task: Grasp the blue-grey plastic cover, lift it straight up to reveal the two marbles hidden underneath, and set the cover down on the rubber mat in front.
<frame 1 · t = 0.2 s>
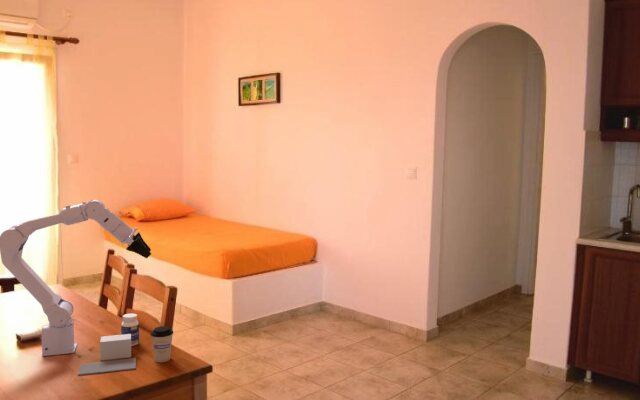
hand: (149, 254, 181), 31 cm above the table, tool tilted 45°, fingers open, 7 cm apart
mat: (108, 367, 163), on the table
cream marble: (122, 355, 172), on the table
pill bottle: (130, 344, 183), on the table
terracotta marble: (110, 356, 171), on the table
coffee cup: (162, 359, 170), on the table
cover: (116, 355, 172), on the table
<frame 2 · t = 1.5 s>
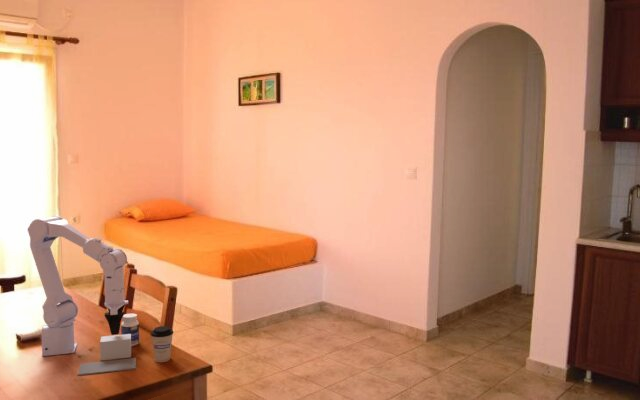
hand: (115, 330, 171), 9 cm above the table, tool pointing down, fingers open, 7 cm apart
nothing on the table moved.
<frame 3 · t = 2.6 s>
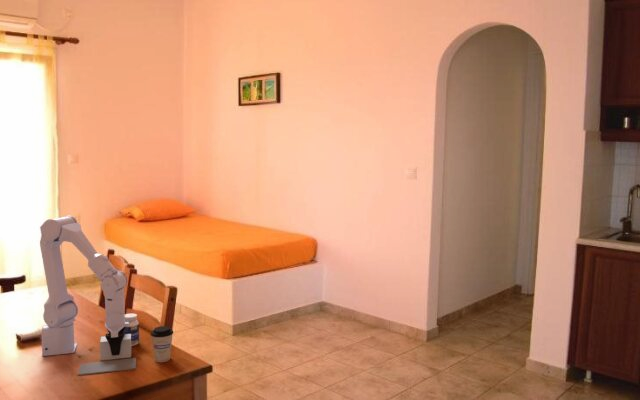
hand: (116, 351, 172), 1 cm above the table, tool pointing down, fingers closed on cover, 5 cm apart
cover: (116, 355, 172), on the table, touching gripper
everything else where it was.
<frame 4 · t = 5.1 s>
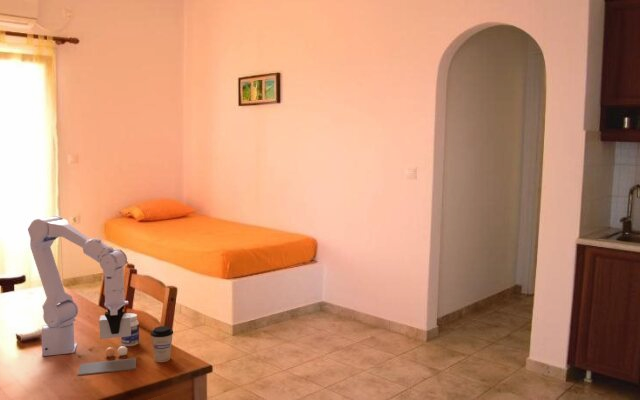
hand: (115, 330, 171), 8 cm above the table, tool pointing down, fingers closed on cover, 5 cm apart
cover: (115, 334, 171), point 7 cm above the table, touching gripper
everything else where it was.
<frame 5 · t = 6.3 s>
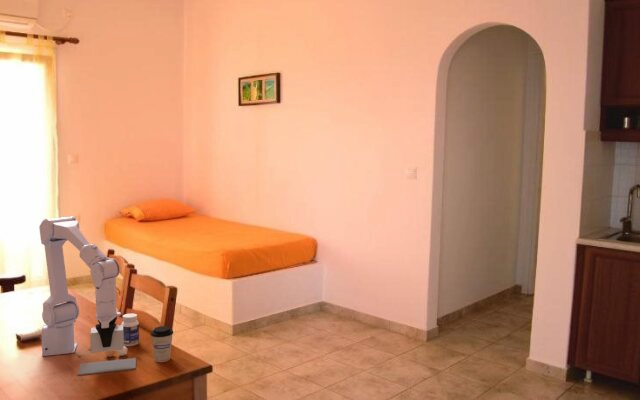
hand: (107, 343, 162), 7 cm above the table, tool pointing down, fingers closed on cover, 5 cm apart
cover: (107, 348, 163), point 6 cm above the table, touching gripper
everything else where it was.
when the fingers open (3 cm above the table, at t = 7.4 s): cover drops 2 cm, resting on mat.
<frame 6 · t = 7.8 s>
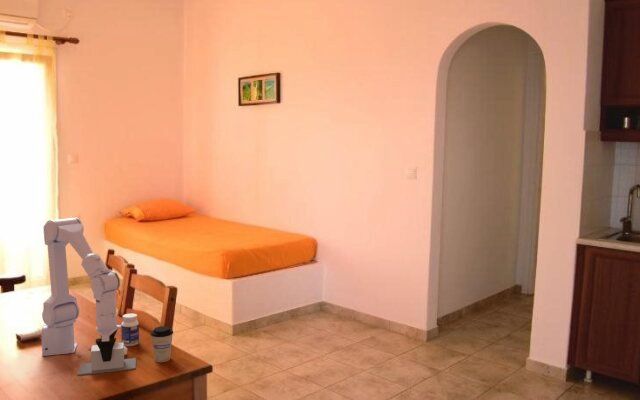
hand: (107, 356, 163), 3 cm above the table, tool pointing down, fingers open, 7 cm apart
cover: (108, 365, 163), resting on mat
everything else where it was.
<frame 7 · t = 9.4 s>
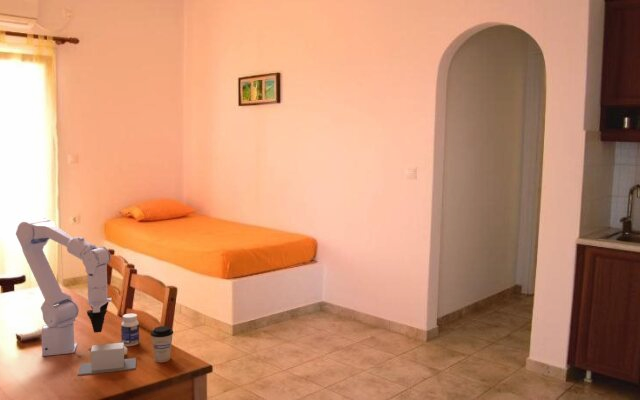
hand: (98, 328, 170), 9 cm above the table, tool pointing down, fingers open, 7 cm apart
nothing on the table moved.
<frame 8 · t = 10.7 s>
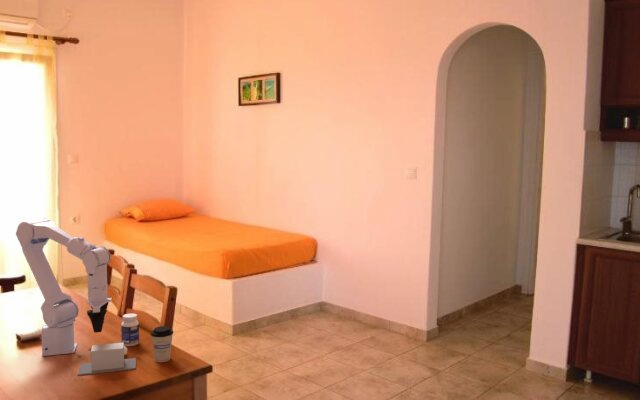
hand: (98, 327, 170), 9 cm above the table, tool pointing down, fingers open, 7 cm apart
nothing on the table moved.
at the end: cover 0.1 cm off-centre on the mat, point 0.4 cm above the mat's base; cover tilted 0°; the gripper is holding nothing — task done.
